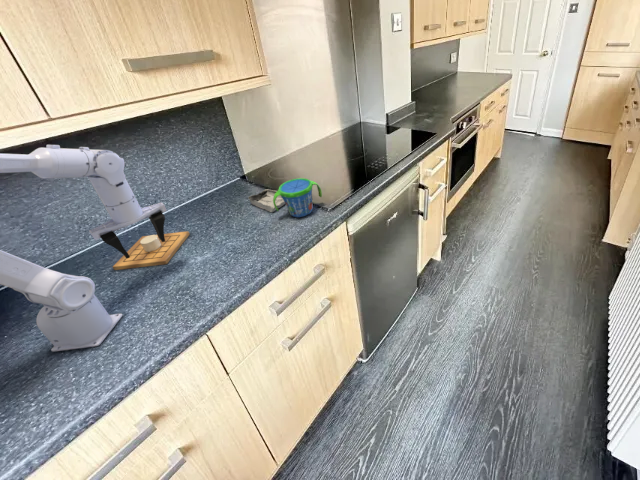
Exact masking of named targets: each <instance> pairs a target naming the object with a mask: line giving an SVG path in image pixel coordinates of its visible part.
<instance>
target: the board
mask: <svg viewBox="0 0 640 480" xmlns="http://www.w3.org/2000/svg"><path fill="white" fill-rule="evenodd" d="M156 235H157V234H156ZM190 235H191V234H190V232H189V231H177V232H170V233H164V237H165V241H164V242H162V241H161V240H160V239H159V237H158V235H157V237H158V239H159V240H160V242H161V246H160V247H159V248H158V249H156V250H154V251H151V252H146V251H145V250H144V249H143V247H142V245H141V243H140V241H141V240H142V239H143V238H145V237H147V236H148V235H142V236H141V237H140V238H139V239H138V240H137V241H136V242H135V243H134V244H133V245H132V246H131V247H130V248H129V249H128V250H126V252H127V253H128V254H129V256H130V258H128V259H127V258H126V257H125V256H124V255H122V257H120V259H119V260H117V262H116V263H114V265H113V266H112V269H113V270H114V271H118V270H120V271H121V270H129V269H137V268H145V267H152V266H154V267H155V266H162V265H167V264H169V262H170V260H171V259H172V258H173V257H174V256H175V254H176V253H177V252H178V251H179V249H180V248H181V247H182V245H183V244H184V243H185V241H186V240H187V239H188V238H189V236H190Z"/></svg>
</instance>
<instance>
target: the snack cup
mask: <svg viewBox="0 0 640 480" xmlns="http://www.w3.org/2000/svg"><path fill="white" fill-rule="evenodd" d="M313 186H316V188H317V191H318V197H319V198H322V197H323V192H322V188H321V186H320V185H319V184H318V183H317V182H316V181H313V180H310V179H309V178H303V177H299V178H293V179H289V180H287V181H285V182H283V183H282V184H280V185H279V186H278V189H277V190H276V191H277V192H276V193H275V195H274V198H273V203H274V206H275V208H276V210H275V211H276V212H279V208H277V206H276V204H275V200H276V198H277V197H278V196H279V195H281V197H282V198H283V200H284V202H285V206H286V209H287V210H288V213H289V215H290V216H292V217H294V218H304V217H305V216H308V215H310V214H311V213H312V211H313V208H314V207H313V206H314V205H313Z"/></svg>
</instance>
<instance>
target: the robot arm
mask: <svg viewBox="0 0 640 480" xmlns="http://www.w3.org/2000/svg"><path fill="white" fill-rule="evenodd" d="M125 165H126V164H125V159H124V157H120V155H119V154H118V153H116V152H114V151H113V150H109V149H90V147H88V146H79V147H78V148H63V147H61V146H60V145H59V144H46V147H38V148H36V149H34V150H33V151H31V152H30V153H29V154H24V153H23V154H21V153H0V174H7V173H8V174H9V173H11V174H12V173H32V174H34V175H35V176H37V177H38V178H40V179H44V180H47V179H71V178H73V179H75V178H88V180H89V182H90V184H91V185H92V187H93V189H94V191H95V192H96V194H97V196H98V198H99V199H100V202H101V203H102V204H103V207H104V208H105V210H106V212H107V213H108V215H109V217H110V219H109V220H108V221H106V222H104V223H102V224H100V225H98V226H96V227H94V228H92V229H89V230H88V233H89V234H90V236H91V237H92V239H93V240H94V241H98V240H100V239H101V240H102V242H103V243H105V244H106V245H108V246H110V247H112V248H113V249H116V250H117V251H119V252H120V253H121V254H122V256H125V257H126V258H127V259H128V258H130V256H129V254H128V253H127V250H126V249H125V247H124V245H123V244H122V242H121V240H120V238H119V237H118V236H117V234H116V233H115V232H117V231H119V230H121V229H123V228H126V227H128V226H131V225H134V224H136V223H138V222H141V221H143V220H146V219H149V221H150V222H151V224H152V226H153V228H154V231H155V233H156V235H158V237H159V239H160V240H161V241H162V242H164V241H165V237H164V234H165V229H164V228H165V220H166V217H165V216H166V215H165V214H163V213H166V212H167V211H168V209H167V208H166V205H165V204H164V203H163V202H161V201H160V202H158V203H155V204H151V205H148V206H144V207H141V206H140V203H139V202H138V199H137V198H136V195H135V193H134V192H133V190H132V188H131V186H130V184H129V182H128V180H127V178H126V177H127V176H126V174H125V171H124V169H125ZM0 285H1V286H3V287H7V288H11V289H12V290H13V291H16V292H19V293H21V294H22V295H24V297H25V298H26V300H28V301H29V302H31V303H33V304H41V305H42V306H43V307H41V308H40V310H39V312H38V313H37V315H36V327H37V329H38V330H39V331H40V332H41V333H42V334H43V336H45V338H46V339H47V340H48V341H49V342H50V343H51V344H52V345H53V347H52V348H51V349H50V351H51V352H53V353H54V352H61V351H62V352H63V351H69V350H70V351H71V350H78V349H85V348H92V347H93V348H94V347H99V346H100V345H101V344H102V343H103V342H104V340H105V339H106V338H107V337H108V335H109V334H110V333H111V332H112V330H113V329H114V327H115V326H116V325H117V324H118V323H119V321H120V319H121V318H122V317H123V315H124V314H122V313H113V314H109V313H108V311H107V310H106V308H105V307H104V306H103V304H102V303H101V301H100V299H99V298H98V297H97V295H96V294H95V292H96V285H95V282H94V281H93V280H92V278H90V277H88V276H83V275H81V276H80V275H79V276H78V275H74V274H69V273H63V272H60V271H57V270H54V269H50V268H47V267H44V266H42V265H38V264H36V263H34V262H31V261H29V260H27V259H24V258H22V257H19V256H16V255H15V254H12V253H9V252H6V251H4V250H2V249H0Z"/></svg>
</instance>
